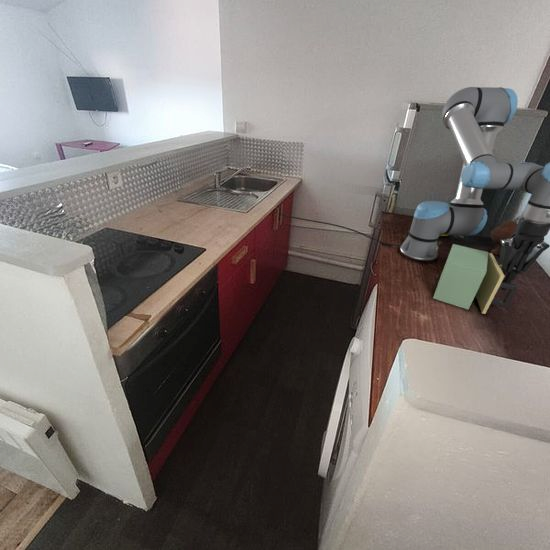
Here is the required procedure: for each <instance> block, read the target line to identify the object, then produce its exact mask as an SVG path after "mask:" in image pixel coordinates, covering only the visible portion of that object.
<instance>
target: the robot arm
mask: <svg viewBox="0 0 550 550" xmlns="http://www.w3.org/2000/svg"><path fill="white" fill-rule="evenodd" d="M517 108H518V95H517V93H516V92H515V90H514V89H512V88H508V87H503V86H499V87H492V86H491V87H489V86H487V87H485V86H483V87H481V86H480V87H479V86H478V87H477V86H468V87H464V88H461V89H459V90H457V91H456V92H454V93H453V94H452V95H451V96H450V97H449V98H448V99H447V101H446V102H445V104H444V106H443V108H442V113H441V114H442V115H441V118H442V123H443V125H444V127H445V128H446V129H448V130H449V131H450V133H451V135H452V137H453V140H454V142H455V145H456V147H457V150H458V152H459V154H460V156H461V159H462V162H463V163H462V167H461V172H460V175H459V181H458V185H457V189H456V193H455V197H454V199H452V200H450V202H449V203H447V202H446V201H445V202H444V201H438V200H427V201H423V202H420V203H419V204H418V205H417V206H416V209H415V211H414V213H413V218H412V221H411V225H410V228H409V232H408V235H407V237H406V238H405V240H404V241H403V242H402V244H397V243H390V242H385V241H382V240H379V239H377V238H374V237H373V236H370V235H367V234H365V233H363V232H362V231H358V230H356V229H353V228H350V227H346V226H342V225H339V224H334V223H330V222H324V221H318V220H313V219H308V218H301V217H297V216H292V215H287V214H284V213H280V214H279V215H280V216H283V217H287V218H291V219H296V220H301V221H306V222H313V223H319V224H322V225H323V224H324V225H330V226H333V227H338V228H342V229H345V230H348V231H351V232H354V233H357V234H359V235H361V236H364V237H366V238H369V239H371V240H373V241H375V242H377V243H380V244H384V245H387V246H395V247H399V253H400V254H401V256H403V257H404V258H406V259H408V260H411V261H414V262H420V263H431V262H434V261H436V260H437V257H438V250H439V246H438V240H439V237H440V236H439V235H440V234H443V235H447V236H462V237H466V236H467V237H468V236H469V237H470V236H475V235H477V234H479V233H480V232H481V231H482V230H483V229H484V228H485V226H486V224H487V221H488V211H487V209H486V208H484V202H483V201H482V199H481V197H482V194H483V190H505V191H507V190H508V191H521V192H525V193H527V194H529V195H530V196H529V199H528V201H527V203H526V205H525V207H524V209H523V211H522V213H521V217H520V218H519V220H518V221H517V226H516V229H515V233H514V234H513V235H512V236H511V238H509V239H506V240H504V239H502V240H500V242H501V246H502V247H501V252H500V255H499V259H498V265H499V267H500V268H501V270H502V272H503V274H504V276H505V277H504V279H503V281H502V282H506V283H511V284H512V281H514V280H516V277H517V276H518V275H521V274H522V272H526V271H528V270H529V269H530V267H531V266H532V265H533V264H534V263H535V262H536V260H537V259H539V257H540V256H541V255H542V254H543V252H545V251H546V250H547V249H549V248H550V244H549V243H547V242H545V237H546V236H548V234H549V232H550V162H548V163H546V164H545V165H544V166H543V165H539V164H537V163H534V162H532V161H531V162H527V161H519V162H517V163H509V162H498V161H497V159H496V157H495V156H494V153H493V151H494V146H495V142H496V138H497V134H498V133H500V132H501V131H502V130H503V129H504V126H505V125H506V124H507V123H509V122H510V121H511V120H512V119H513V116H514V115H515V114H516V111H517ZM511 243H513V244H512V245H511ZM500 289H501V290H502V291H508V289H506V288H500Z"/></svg>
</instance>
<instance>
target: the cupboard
mask: <svg viewBox="0 0 550 550" xmlns="http://www.w3.org/2000/svg"><path fill="white" fill-rule="evenodd" d="M488 254H489V252H488V251H485V250H480V249H478V248H477V249H476V248H472V247H468V246H465V245H464V246H463V245H460V244H455V243H452V245H451V248H450V251H449V252H448V256H447V259H446V261H445V264H444V265H443V269H442V272H441V274H440V277H439V280H438V282H437V286H436V288H435V291H434V294H433V297H432V299H434V300H437V301H441V302H443V303H446V304H449V305H452V306H456V307H459V308H462V309H465V310H468V311H469V310H470V307H471V305H472V303H473V301H474V299H475V298H476V293H477V291H478V289H479V286H480V284H481V282H482V280H483V278H484V276H485V274H486V272H487V261H488Z"/></svg>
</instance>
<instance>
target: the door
mask: <svg viewBox="0 0 550 550" xmlns="http://www.w3.org/2000/svg"><path fill="white" fill-rule="evenodd" d="M498 264H499V262H498V261H497V260H496V258H495V255H494V254H493V253H491V252H488V261H487V272H486V274H485V276H484V278H483V280H482V282H481V284H480V286H479V289H478V291H477V293H476V295H475V298H476V301H477V304H478V306H479V310H480V312H481V314H482V315H483V314H484V315H486V313H487V312H488V309H489V307H490V306H491V305H494V306H499V307H502V308H503V307H504V308H507V307H508V305H509V303H510V301H511V299H512V298H513V296H514V294H515V292H516V291H517V289H518V287H519V285H518V284H515V283H512V282H511V283H506V282H502V281H503V279H504V277H505V276H504V274H503V272H502V271H503V269H502V268H500V267H499V265H498ZM499 288H500V289H501V288H506V289H507V290H508V292H507V293H506V295H505V297H504V299H503V300H501V299H497V298H495V296H496V294H497V292H498V290H499Z"/></svg>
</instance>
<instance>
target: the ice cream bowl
mask: <svg viewBox="0 0 550 550" xmlns="http://www.w3.org/2000/svg"><path fill="white" fill-rule="evenodd" d="M517 224H518V222H516V221H514V220H506V221H504V222H503V223H501V224H500V225H498V226H497V227H495V228H493V229H492V230H491V231H490V237H491V239H492V241H493V242H494V243H495V244H496V245H497V247H496V248H492V249H491V250H489V253H492V254H493V255H494V256H495V255H496V256H500V252H501V247H502V246H501V242H500V240H502V239H504V240H506V239H509V238H511V236H512V235H513V234H514V233H515V229H516V226H517ZM511 246H513V243H511Z"/></svg>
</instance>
